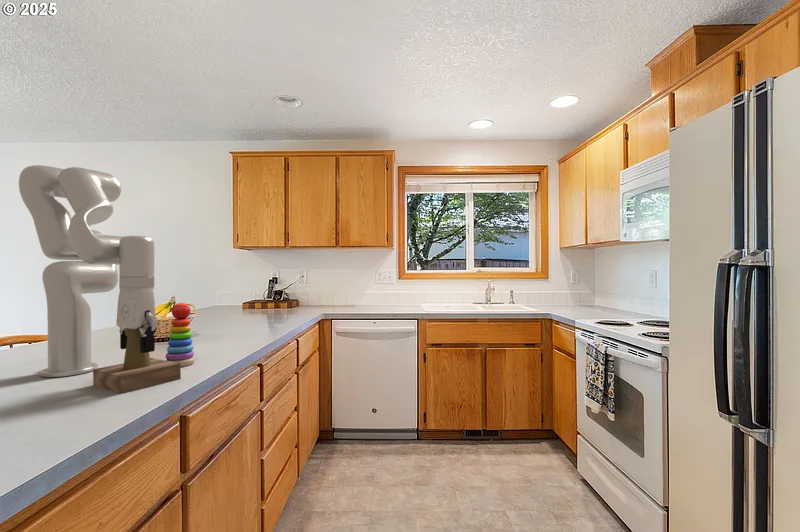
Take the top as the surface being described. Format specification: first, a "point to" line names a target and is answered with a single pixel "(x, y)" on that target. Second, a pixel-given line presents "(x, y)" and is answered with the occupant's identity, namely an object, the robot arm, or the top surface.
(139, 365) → the cork
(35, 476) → the top surface
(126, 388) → the walnut base brick
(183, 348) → the stacking toy
